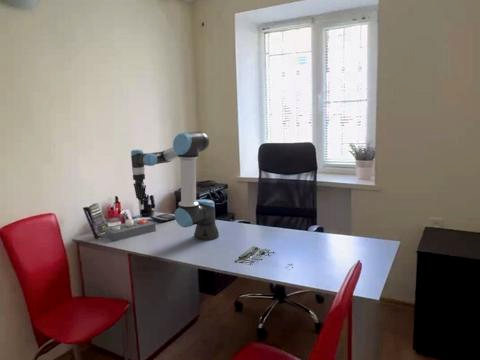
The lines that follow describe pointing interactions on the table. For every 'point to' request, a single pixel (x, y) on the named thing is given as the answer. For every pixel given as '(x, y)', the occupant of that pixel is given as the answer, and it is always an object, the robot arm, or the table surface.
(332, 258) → the table surface
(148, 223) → the grey tray
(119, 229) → the button sage
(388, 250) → the table surface
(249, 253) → the model
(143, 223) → the button red
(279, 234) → the table surface
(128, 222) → the button cream
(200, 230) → the robot arm
